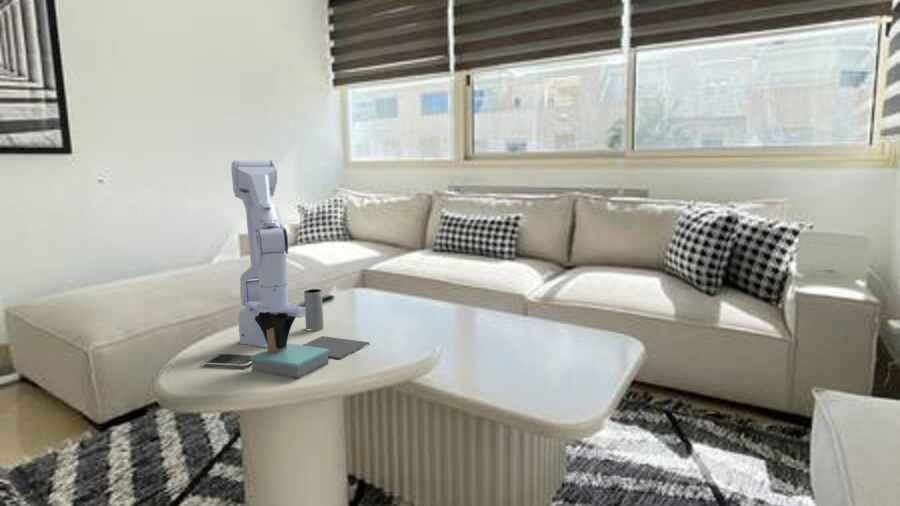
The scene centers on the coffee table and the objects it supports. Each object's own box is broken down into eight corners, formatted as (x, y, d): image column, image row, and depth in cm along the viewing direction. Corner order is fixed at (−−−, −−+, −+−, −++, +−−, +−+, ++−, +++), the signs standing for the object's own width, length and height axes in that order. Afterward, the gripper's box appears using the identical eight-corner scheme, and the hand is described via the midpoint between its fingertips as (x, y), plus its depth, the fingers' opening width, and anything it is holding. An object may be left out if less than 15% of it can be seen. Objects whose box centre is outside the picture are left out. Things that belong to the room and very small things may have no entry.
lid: (250, 363, 114) (248, 333, 113) (284, 348, 124) (282, 321, 123) (297, 371, 109) (296, 340, 108) (329, 355, 119) (328, 326, 118)
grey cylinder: (319, 331, 143) (317, 292, 142) (303, 330, 144) (301, 292, 143) (326, 326, 148) (324, 289, 146) (310, 326, 148) (308, 288, 147)
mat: (290, 351, 127) (290, 350, 127) (322, 337, 138) (322, 336, 137) (340, 359, 121) (340, 357, 121) (369, 344, 132) (369, 342, 132)
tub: (252, 370, 115) (251, 359, 114) (284, 356, 124) (284, 345, 123) (298, 378, 110) (297, 366, 109) (328, 363, 119) (328, 352, 118)
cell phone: (247, 371, 116) (246, 364, 116) (199, 368, 118) (198, 362, 117) (261, 361, 122) (261, 355, 122) (216, 359, 124) (215, 353, 123)
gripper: (233, 285, 115) (237, 348, 117) (287, 290, 109) (291, 356, 111) (257, 279, 121) (261, 339, 123) (310, 284, 115) (313, 346, 117)
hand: (277, 346), depth 117 cm, fingers closed on lid
